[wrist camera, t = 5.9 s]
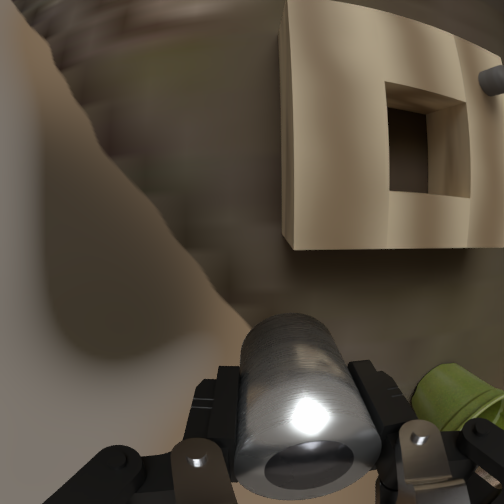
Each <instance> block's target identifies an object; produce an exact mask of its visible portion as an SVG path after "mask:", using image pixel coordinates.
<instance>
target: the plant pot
mask: <svg viewBox="0 0 504 504" xmlns="http://www.w3.org/2000/svg"><path fill="white" fill-rule="evenodd" d="M412 406H413V408H414V411H415V413H416V415H417V417H418V419H419V420H426V421H429V422H431V423H433V424H434V425H436V426H437V428H438V429H439V431H461V429H462V428H463V426H464V424H465V423H466V422H467V421H468V420H470V419H472V418H484V419H487V420H489V421H491V422H492V423H494V424H495V425H497V426H498V427H500V428H501V429H503V430H504V391H503V390H501V389H496V388H494V387H492V386H491V385H489V384H487V383H486V382H484V381H483V380H481V379H479V378H478V377H476V376H475V375H473V374H472V373H470V372H468V371H467V370H465V369H464V368H462V367H461V366H459V365H458V364H456V363H451V364H441V365H439V366H437V367H435V368H434V369H432V370H431V371H430V372H429V373H427V374H426V375H425V376H424V377H423V378H422V380H421V381H420V382H419V384H418V385H417V389H416V392H415V394H414V396H413V397H412Z"/></svg>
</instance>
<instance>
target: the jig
mask: <svg viewBox="0 0 504 504" xmlns="http://www.w3.org/2000/svg"><path fill="white" fill-rule="evenodd" d="M278 46H279V72H280V106H281V165H282V235H283V236H284V238H285V239H286V240H287V242H288V243H289V244H290V246H291V247H292V249H293V250H338V249H415V248H499V247H504V66H503V65H502V62H501V58H500V57H499V56H497V55H495V54H493V53H491V52H489V51H487V50H485V49H483V48H481V47H479V46H477V45H475V44H473V43H471V42H469V41H466V40H464V39H462V38H460V37H457V36H455V35H453V34H450V33H448V32H445V31H443V30H440V29H438V28H435V27H432V26H429V25H427V24H424V23H421V22H418V21H415V20H412V19H409V18H405V17H402V16H399V15H395V14H392V13H388V12H384V11H380V10H376V9H372V8H367V7H363V6H358V5H353V4H348V3H342V2H336V1H330V0H286V2H285V6H284V10H283V14H282V19H281V23H280V27H279V31H278ZM387 107H389V108H395V109H400V110H406V111H411V112H416V113H420V114H425V115H426V125H427V142H428V194H427V193H415V192H402V191H389V136H388V117H387Z"/></svg>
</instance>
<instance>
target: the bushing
mask: <svg viewBox="0 0 504 504" xmlns="http://www.w3.org/2000/svg"><path fill="white" fill-rule="evenodd" d="M381 447H382V444H381V439H380V436H379V434H378V432H377V430H376V428H375V425H374V423H373V421H372V419H371V417H370V414H369V412H368V410H367V408H366V406H365V404H364V402H363V399H362V397H361V395H360V393H359V391H358V389H357V387H356V385H355V383H354V380H353V378H352V376H351V374H350V372H349V370H348V368H347V366H346V364H345V362H344V360H343V358H342V356H341V354H340V351H339V349H338V347H337V345H336V343H335V341H334V339H333V337H332V335H331V333H330V332H329V330H328V329H327V328H326V326H325V325H324V324H322V323H321V322H320V321H319V320H317V319H315V318H313V317H311V316H308V315H305V314H299V313H283V314H278V315H275V316H272V317H269V318H267V319H265V320H263V321H262V322H260V323H258V324H257V325H256V326H255V327H254V328H253V329H252V330H251V331H250V332H249V333H248V334H247V336H246V338H245V339H244V342H243V345H242V348H241V355H240V383H239V400H238V417H237V435H236V453H235V457H234V474H235V477H236V479H237V480H238V482H239V483H240V484H241V485H242V486H243V487H244V488H246V489H248V490H249V491H251V492H253V493H255V494H257V495H260V496H263V497H267V498H272V499H278V500H303V499H311V498H316V497H321V496H324V495H327V494H331V493H333V492H336V491H339V490H341V489H343V488H345V487H347V486H349V485H351V484H352V483H354V482H356V481H357V480H359V479H360V478H361V477H363V476H364V475H365V474H366V473H367V472H368V471H369V470H370V469H371V468H372V467H373V466H374V464H375V463H376V461H377V460H378V458H379V455H380V453H381Z"/></svg>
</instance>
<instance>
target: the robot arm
mask: <svg viewBox="0 0 504 504" xmlns="http://www.w3.org/2000/svg"><path fill="white" fill-rule="evenodd" d="M347 368H348V370H349V372H350V374H351V376H352V378H353V380H354V383H355V385H356V387H357V389H358V391H359V393H360V395H361V397H362V399H363V402H364V404H365V406H366V408H367V410H368V412H369V414H370V417H371V419H372V421H373V423H374V425H375V428H376V430H377V432H378V434H379V436H380V439H381V444H382V447H381V453H380V455H379V458H378V460H377V461H376V463H375V464H374V466H373V467H372V468H371V469H370V470H369V471H371V470H376V469H377V471H378V474H379V476H378V478H377V480H376V484H375V485H376V487H375V489H376V490H375V492H376V493H375V495H376V496H375V497H376V498H375V500H376V501H375V504H504V430H503V429H501V428H500V427H498V426H497V425H495V424H494V423H492V422H491V421H489V420H487V419H484V418H472V419H470V420H468V421H467V422H466V423H465V424H464V426H463V428H462V429H461V431H439V429H438V428H437V426H436V425H434V424H433V423H431V422H429V421H426V420H419V419H418V417H417V416H416V414H415V412H414V411H413V409H412V408H411V406H410V404H409V403H408V401H407V400H406V398H405V397H404V395H402V392H401V391H400V389H399V388H398V386H397V384H396V383H395V381H394V380H393V378H392V377H390V376H389V375H387V374H386V373H385V372H383V371H378V372H377V371H376V369H375V368H374V366H373V364H372V363H371V361H370V360H362V361H353V362H349V364H348V366H347ZM239 383H240V367H239V366H219V368H218V374H217V379H204V380H203V381H202V382H201V383H200V384H199V385H198V386H197V387H196V389H195V394H194V398H193V401H192V406H191V409H190V413H189V417H188V421H187V425H186V429H185V433H184V437H183V440H182V441H181V442H179V443H178V444H177V445H175V446H174V448H173V449H172V451H171V452H168V453H165V454H161V455H154V456H143V457H140V455H139V453H138V452H137V451H135V450H134V449H132V448H130V447H128V446H123V445H113V446H109V447H106V448H104V449H102V450H101V451H100V452H99V453H97V454H96V455H95V456H94V457H93V458H92V459H91V460H90V461H89V462H88V463H87V464H86V465H85V466H84V467H82V468H81V469H80V470H79V471H78V472H77V473H76V474H75V475H74V476H73V477H72V478H70V479H69V480H68V481H67V482H66V483H65V484H64V485H63V486H62V487H61V488H59V489H58V490H57V491H56V492H55V493H54V494H53V495H52V496H50V497H49V498H48V499H47V500H46V501H45V502H44V503H42V504H238V503H237V500H236V497H235V494H234V491H233V488H232V485H231V482H238V480H237V479H236V477H235V474H234V457H235V453H236V435H237V417H238V400H239ZM478 466H480V467H481V468H482V469H484V470H485V471H486V472H488V473H489V474H490V475H492V476H493V477H494V478H495V479H497V480H498V481H499V482H500V483H501V484H502V489H496V488H494V487H493V486H492V485H490V484H489V483H488V482H487V481H485V480H484V479H483V478H482V477H480V476H479V475H478V474H477V473H475V470H476V469H477V468H478Z"/></svg>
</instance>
